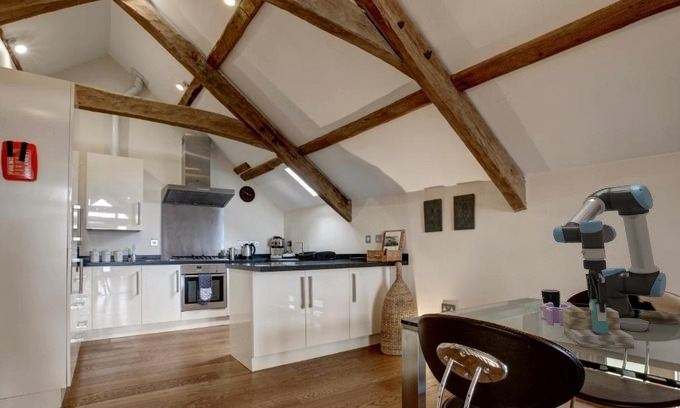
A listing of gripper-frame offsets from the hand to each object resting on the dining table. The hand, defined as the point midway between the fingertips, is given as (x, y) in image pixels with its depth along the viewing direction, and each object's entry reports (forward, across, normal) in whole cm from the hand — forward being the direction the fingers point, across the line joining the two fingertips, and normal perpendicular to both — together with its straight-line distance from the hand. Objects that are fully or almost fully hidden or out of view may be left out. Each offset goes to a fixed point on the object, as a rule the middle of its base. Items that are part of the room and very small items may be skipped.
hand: (599, 319), depth 147 cm
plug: (+5, 0, 0) cm, 5 cm away
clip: (+10, -36, -5) cm, 38 cm away
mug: (+9, -62, 0) cm, 62 cm away
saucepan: (+10, -23, +18) cm, 31 cm away
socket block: (+9, -5, 0) cm, 10 cm away
